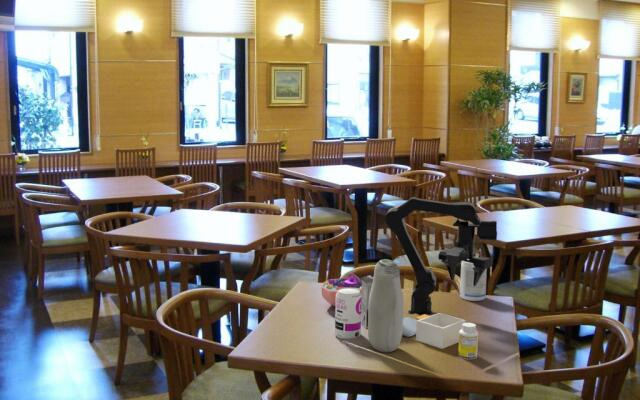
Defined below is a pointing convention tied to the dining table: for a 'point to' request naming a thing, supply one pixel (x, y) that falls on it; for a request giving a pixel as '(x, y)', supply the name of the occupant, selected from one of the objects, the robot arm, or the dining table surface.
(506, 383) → the dining table surface
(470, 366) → the dining table surface
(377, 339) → the grey tall bottle
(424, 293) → the robot arm
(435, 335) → the tub
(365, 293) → the coffee box
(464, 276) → the supplement tub
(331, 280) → the cell model
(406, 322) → the lid
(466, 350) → the supplement bottle
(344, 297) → the supplement can
